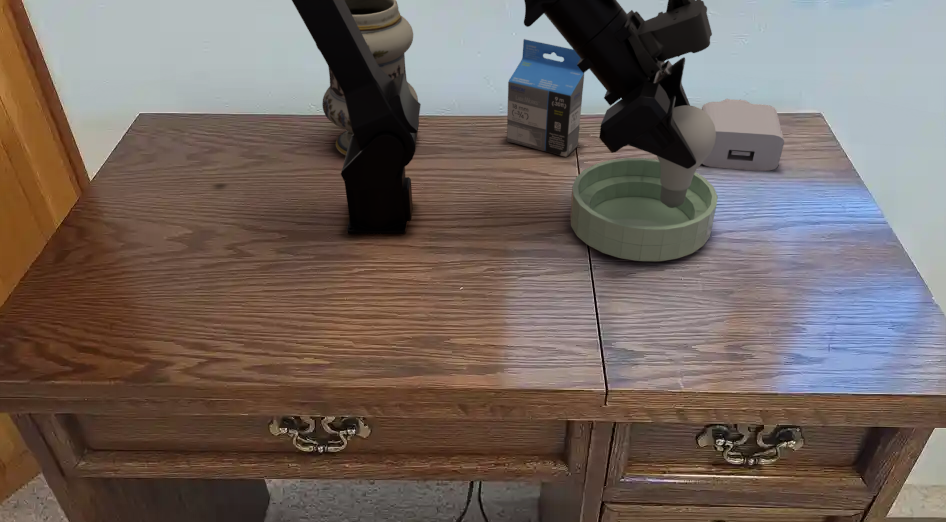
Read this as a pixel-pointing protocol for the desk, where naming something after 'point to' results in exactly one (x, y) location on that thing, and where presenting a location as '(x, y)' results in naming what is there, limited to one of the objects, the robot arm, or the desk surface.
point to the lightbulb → (701, 143)
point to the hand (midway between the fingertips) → (695, 151)
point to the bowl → (639, 211)
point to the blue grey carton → (545, 99)
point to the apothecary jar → (387, 44)
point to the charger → (744, 135)
